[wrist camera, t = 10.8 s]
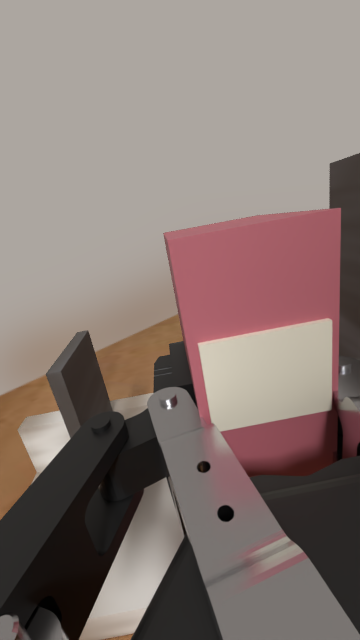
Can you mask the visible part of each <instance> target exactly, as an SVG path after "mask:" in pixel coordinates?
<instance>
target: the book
mask: <svg viewBox="0 0 360 640" xmlns="http://www.w3.org/2000/svg"><path fill="white" fill-rule="evenodd" d="M164 239H165V244H166V250H167V255H168V260H169V266H170V271H171V276H172V281H173V287H174V292H175V298H176V303H177V308H178V314H179V319H180V325H181V330H182V335H183V341H184V345H185V350H186V355H187V359H188V364H189V369H190V373H191V378H192V383H193V388H194V394H195V399H196V404H197V408H198V411H199V415H200V417H203V418H204V420H205V422H206V423H207V425H208V424H211V423H214V424H215V425H216V427H217V428H218V430H219V431H220V433H221V434H222V436H223V438H224V439H225V441H226V442H227V444H228V445H229V447H230V448H231V450H232V452H233V453H234V455H235V456H236V458H237V459H238V461H239V463H240V464H241V466H242V467H243V469H244V470H245V472H246V474H247V475H248V477H254V476H259V475H281V476H308V475H311V474H313V473H315V472H317V471H319V470H321V469H323V468H325V467H327V466H329V465H331V464H333V452H335V451H337V431H338V414H337V412H336V410H335V409H334V407H333V391H338V368H339V304H340V241H341V208H333V209H322V210H312V211H300V212H290V213H279V214H268V215H257V216H252V217H246V218H241V219H236V220H230V221H225V222H220V223H214V224H209V225H204V226H198V227H193V228H188V229H182V230H177V231H171V232H166V233H164Z"/></svg>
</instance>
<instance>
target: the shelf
mask: <svg viewBox="0 0 360 640" xmlns="http://www.w3.org/2000/svg"><path fill="white" fill-rule="evenodd" d="M333 208H341V241H340V304H339V356H347V357H352V358H355V359H357V360H360V153H359V154H356V155H353V156H350V157H347V158H344V159H342V160H339V161H336V162H333V163H330V209H333ZM46 376H47V379H48V381H49V384H50V387H51V389H52V392H53V394H54V397H55V400H56V402H57V405H58V407H59V410H60V411H56V412H51V413H45V414H40V415H35V416H30V417H26V418H25V420H24V421H23V423H22V424H21V426H20V427H19V429H18V432H19V434H20V436H21V438H22V441H23V443H24V445H25V447H26V449H27V452H28V454H29V456H30V458H31V460H32V462H33V465H34V467H35V469H36V471H37V474H36V476H35V478H34V480H33V482H34V481H35V480H36V478H37V477H38V476H39V475H40V474H41V473H42V471H43V470H44V469H45V468H46V467H47V466H48V464H49V463H50V462H51V461H52V460H53V459H54V457H55V456H56V455H57V454H58V453H59V452H60V450H61V449H62V448H63V447H64V446H65V445H66V443H67V442H68V441H69V440H70V439H71V438H72V436H73V435H74V434H75V433H76V432H77V431H78V429H79V428H80V427H81V426H82V425H83V424H84V423H85V422H86V421H87V420H88V419H90V418H91V417H93V416H95V415H97V414H100V413H103V412H108V411H115V412H119V413H121V414H122V415H123V416H124V419H125V420H126V419H128V418H131V417H133V416H135V415H138V414H140V413H141V412H143V411H144V410H146V409H147V408H148V406H147V401H148V399H149V398H150V396H151V395H152V394H154V393H150V394H145V395H139V396H134V397H129V398H124V399H119V400H113V401H110V400H109V397H108V393H107V390H106V387H105V384H104V380H103V377H102V374H101V371H100V367H99V364H98V361H97V358H96V355H95V351H94V348H93V345H92V342H91V338H90V335H89V332H88V331H82V332H77V333H76V335H75V336H74V338H73V339H72V340H71V341H70V343H69V344H68V345H67V347H66V348H65V349H64V351H63V352H62V353H61V355H60V356H59V357H58V359H57V360H56V361H55V363H54V364H53V365H52V366H51V368H50V369H49V370H48V372H47V373H46ZM33 482H32V483H33ZM182 540H183V535H182V531H181V527H180V524H179V520H178V517H177V513H176V510H175V507H174V503H173V500H172V496H171V493H170V490H169V486H168V483H167V479H166V477H165V478H164V479H162V480H160V481H158V482H156V483H154V484H152V485H150V486H148V487H146V488H144V494H143V496H142V499H141V501H140V503H139V505H138V508H137V510H136V512H135V514H134V517H133V519H132V521H131V523H130V526H129V528H128V530H127V532H126V535H125V537H124V539H123V541H122V544H121V546H120V548H119V550H118V553H117V555H116V557H115V559H114V562H113V564H112V566H111V568H110V571H109V573H108V575H107V577H106V580H105V582H104V584H103V586H102V589H101V591H100V593H99V595H98V598H97V600H96V602H95V604H94V607H93V609H92V611H91V613H90V616H89V618H88V620H87V622H86V625H85V627H84V629H83V631H82V634H81V636H80V638H79V640H102V639H107V638H112V637H117V636H122V635H127V634H132V633H134V632H135V630H136V628H137V627H138V625H139V623H140V621H141V619H142V617H143V615H144V613H145V611H146V609H147V607H148V605H149V604H150V602H151V600H152V598H153V596H154V594H155V592H156V590H157V588H158V586H159V584H160V582H161V581H162V579H163V577H164V575H165V573H166V571H167V569H168V567H169V565H170V563H171V561H172V559H173V558H174V556H175V554H176V552H177V550H178V548H179V546H180V544H181V542H182Z"/></svg>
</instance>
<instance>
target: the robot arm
mask: <svg viewBox="0 0 360 640" xmlns="http://www.w3.org/2000/svg"><path fill="white" fill-rule="evenodd" d="M169 347H170V355H166V356H161V357H159V358H158V359H157V361H156V362H155V363H154V394H152V395H151V396H150V398H149V399H148V401H147V406H148V408H147V409H146V410H144V411H143V412H141V413H140V414H138V415H135V416H133V417H131V418H128V419H126V420H125V419H124V416H123V415H122V414H121V413H119V412H115V411H108V412H103V413H100V414H97V415H95V416H93V417H91V418H90V419H88V420H87V421H86V422H85V423H84V424H83V425H82V426H81V427H80V428H79V429H78V431H77V432H76V433H75V434H74V435H73V436H72V438H71V439H70V440H69V441H68V442H67V443H66V445H65V446H64V447H63V448H62V449H61V450H60V452H59V453H58V454H57V455H56V456H55V457H54V459H53V460H52V461H51V462H50V463H49V464H48V466H47V467H46V468H45V469H44V470H43V471H42V473H41V474H40V475H39V476H38V477H37V478H36V480H35V481H34V482H33V483H32V484H31V485H30V486H29V488H28V489H27V490H26V491H25V492H24V493H23V495H22V496H21V497H20V498H19V499H18V500H17V502H16V503H15V504H14V505H13V506H12V507H11V509H10V510H9V511H8V512H7V513H6V514H5V516H4V517H3V518H2V519H1V520H0V640H79V638H80V636H81V634H82V631H83V629H84V627H85V625H86V622H87V620H88V618H89V616H90V613H91V611H92V609H93V607H94V604H95V602H96V600H97V598H98V595H99V593H100V591H101V589H102V586H103V584H104V582H105V580H106V577H107V575H108V573H109V571H110V568H111V566H112V564H113V562H114V559H115V557H116V555H117V553H118V550H119V548H120V546H121V544H122V541H123V539H124V537H125V535H126V532H127V530H128V528H129V526H130V523H131V521H132V519H133V517H134V514H135V512H136V510H137V508H138V505H139V503H140V501H141V499H142V496H143V494H144V488H146V487H148V486H150V485H152V484H154V483H156V482H158V481H160V480H162V479H164V478H165V477H166V479H167V483H168V486H169V490H170V493H171V496H172V500H173V503H174V507H175V510H176V513H177V517H178V520H179V524H180V527H181V531H182V535H183V540H182V542H181V544H180V546H179V548H178V550H177V552H176V554H175V556H174V558H173V559H172V561H171V563H170V565H169V567H168V569H167V571H166V573H165V575H164V577H163V579H162V581H161V582H160V584H159V586H158V588H157V590H156V592H155V594H154V596H153V598H152V600H151V602H150V604H149V605H148V607H147V609H146V611H145V613H144V615H143V617H142V619H141V621H140V623H139V625H138V627H137V628H136V630H135V632H134V634H133V636H132V638H131V640H360V360H357V359H355V358H352V357H347V356H339V368H338V391H333V407H334V409H335V410H336V412H337V414H338V431H337V451H335V452H333V464H331V465H329V466H327V467H325V468H323V469H321V470H319V471H317V472H315V473H313V474H311V475H308V476H281V475H259V476H254V477H248V475H247V474H246V472H245V470H244V469H243V467H242V466H241V464H240V463H239V461H238V459H237V458H236V456H235V455H234V453H233V452H232V450H231V448H230V447H229V445H228V444H227V442H226V441H225V439H224V438H223V436H222V434H221V433H220V431H219V430H218V428H217V427H216V425H215V424H214V423H211V424H208V425H207V423H206V422H205V420H204V418H203V417H200V415H199V411H198V408H197V404H196V399H195V394H194V388H193V383H192V378H191V373H190V369H189V364H188V359H187V355H186V350H185V345H184V341H182V342H176V343H171V344H169Z"/></svg>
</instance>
